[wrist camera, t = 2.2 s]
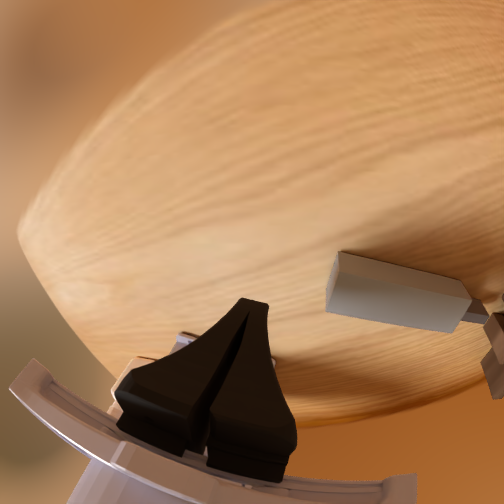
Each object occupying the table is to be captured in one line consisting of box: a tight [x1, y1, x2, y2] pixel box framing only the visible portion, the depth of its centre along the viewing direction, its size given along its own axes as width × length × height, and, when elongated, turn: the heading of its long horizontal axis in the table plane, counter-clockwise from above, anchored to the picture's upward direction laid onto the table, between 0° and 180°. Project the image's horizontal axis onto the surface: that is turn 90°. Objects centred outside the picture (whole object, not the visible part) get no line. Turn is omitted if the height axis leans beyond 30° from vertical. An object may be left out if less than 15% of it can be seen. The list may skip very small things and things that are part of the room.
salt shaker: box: [107, 357, 154, 420], centre depth 25 cm, size 4×4×10 cm
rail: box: [325, 252, 489, 333], centre depth 15 cm, size 13×3×2 cm, turn 84°
